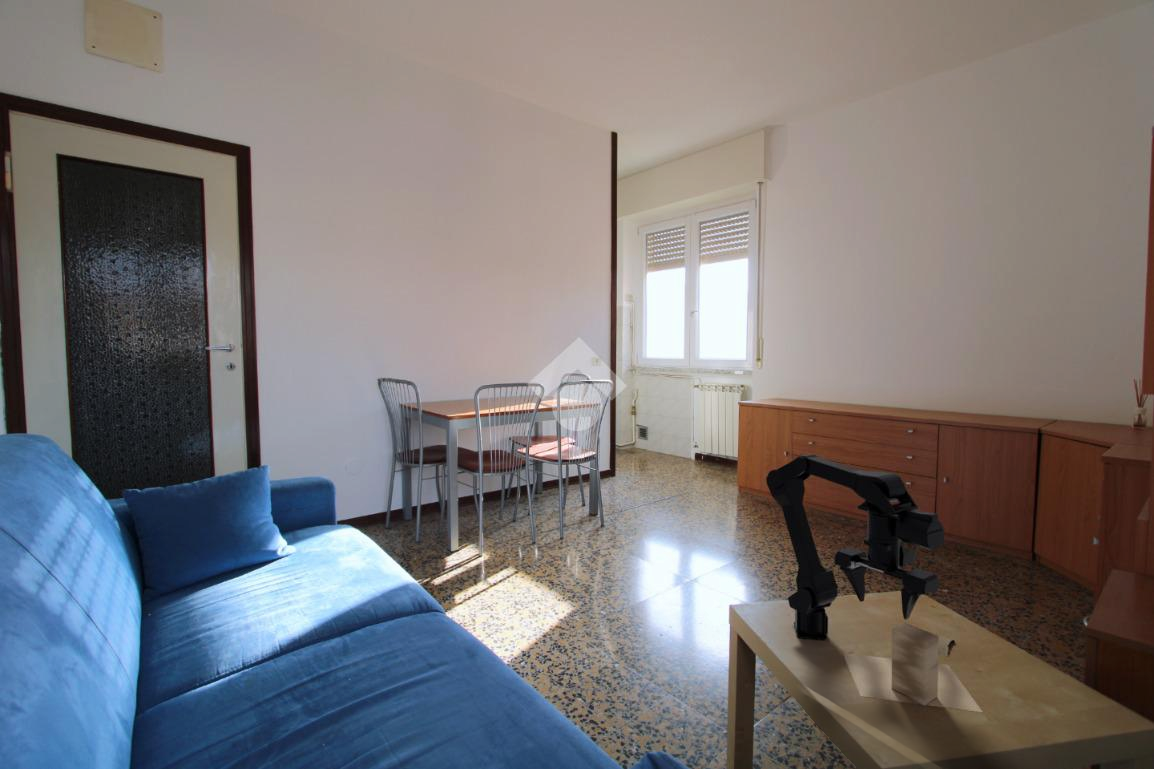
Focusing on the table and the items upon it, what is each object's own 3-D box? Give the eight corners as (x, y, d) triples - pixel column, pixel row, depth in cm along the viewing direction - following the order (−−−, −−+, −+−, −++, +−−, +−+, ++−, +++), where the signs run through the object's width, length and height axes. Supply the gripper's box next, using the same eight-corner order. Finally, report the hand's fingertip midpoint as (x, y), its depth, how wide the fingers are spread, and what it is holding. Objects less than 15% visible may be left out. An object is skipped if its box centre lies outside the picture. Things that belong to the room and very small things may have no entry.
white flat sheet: (860, 702, 101) (860, 696, 101) (842, 658, 115) (842, 652, 115) (982, 718, 96) (983, 712, 96) (947, 670, 110) (948, 664, 110)
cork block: (891, 689, 103) (892, 629, 102) (904, 681, 105) (905, 622, 104) (924, 706, 97) (925, 643, 97) (937, 698, 100) (938, 636, 99)
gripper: (954, 540, 105) (953, 618, 106) (863, 517, 121) (863, 584, 122) (923, 552, 99) (923, 633, 100) (832, 526, 116) (832, 596, 116)
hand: (883, 609), depth 110 cm, fingers open, 9 cm apart
